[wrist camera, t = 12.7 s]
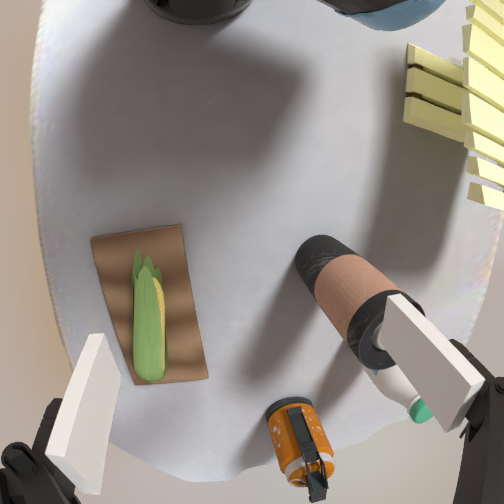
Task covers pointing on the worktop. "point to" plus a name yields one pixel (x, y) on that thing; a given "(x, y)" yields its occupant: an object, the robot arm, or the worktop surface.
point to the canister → (301, 445)
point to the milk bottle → (400, 391)
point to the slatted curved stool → (466, 96)
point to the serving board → (174, 288)
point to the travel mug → (349, 296)
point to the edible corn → (148, 321)
